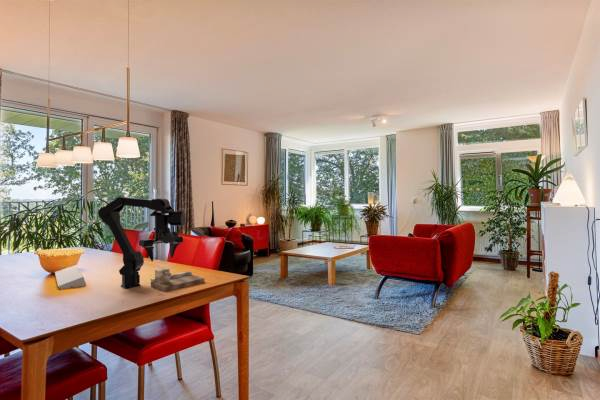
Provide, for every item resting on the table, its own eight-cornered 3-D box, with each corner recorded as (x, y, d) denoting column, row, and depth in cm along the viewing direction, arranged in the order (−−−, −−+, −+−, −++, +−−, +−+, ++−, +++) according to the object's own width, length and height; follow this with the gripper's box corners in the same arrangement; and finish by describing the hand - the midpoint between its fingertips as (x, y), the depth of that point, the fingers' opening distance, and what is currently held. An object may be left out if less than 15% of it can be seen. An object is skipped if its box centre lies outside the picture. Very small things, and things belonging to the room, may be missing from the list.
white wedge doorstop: (61, 295, 151) (86, 286, 157) (58, 286, 150) (83, 276, 156) (57, 280, 178) (79, 272, 184) (54, 272, 177) (76, 264, 183)
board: (164, 291, 146) (164, 283, 146) (150, 286, 155) (150, 278, 155) (204, 282, 161) (204, 275, 161) (189, 277, 170) (189, 271, 170)
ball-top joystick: (164, 286, 148) (164, 272, 148) (155, 282, 154) (154, 269, 154) (175, 283, 152) (175, 270, 151) (165, 280, 158) (165, 267, 158)
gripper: (149, 228, 142) (150, 265, 142) (189, 225, 156) (189, 258, 156) (138, 227, 149) (138, 261, 149) (177, 223, 163) (177, 255, 163)
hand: (162, 259), depth 154 cm, fingers open, 9 cm apart
